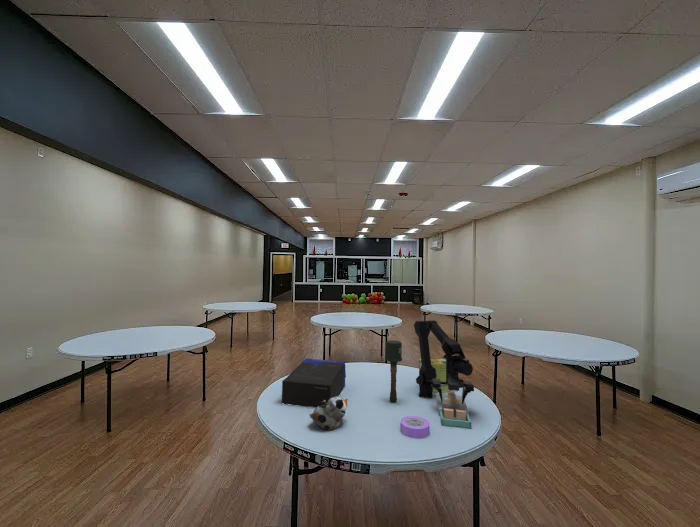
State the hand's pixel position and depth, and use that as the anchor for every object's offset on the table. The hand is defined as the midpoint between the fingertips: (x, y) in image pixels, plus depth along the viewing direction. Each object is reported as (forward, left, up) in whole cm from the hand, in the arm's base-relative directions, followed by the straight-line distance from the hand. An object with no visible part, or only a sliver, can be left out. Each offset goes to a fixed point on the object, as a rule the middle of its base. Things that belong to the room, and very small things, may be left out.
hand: (452, 402), depth 148 cm
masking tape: (-17, -24, -4) cm, 30 cm away
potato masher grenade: (-28, +4, -4) cm, 29 cm away
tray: (0, -12, -4) cm, 12 cm away
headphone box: (-69, +5, -4) cm, 69 cm away
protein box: (-7, +29, -4) cm, 30 cm away
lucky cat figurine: (-53, -26, -4) cm, 59 cm away
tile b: (+3, -9, -1) cm, 10 cm away
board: (0, +3, -4) cm, 5 cm away
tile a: (-2, -9, -1) cm, 9 cm away
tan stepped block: (0, -1, -1) cm, 2 cm away
